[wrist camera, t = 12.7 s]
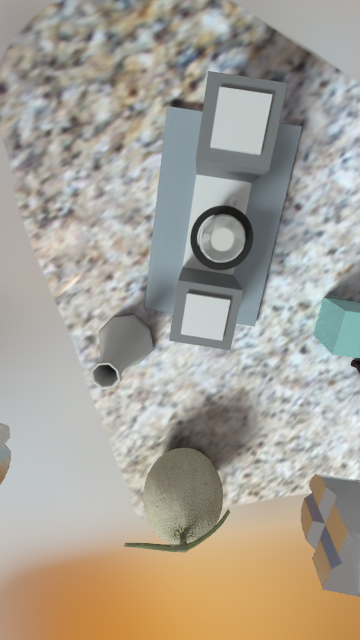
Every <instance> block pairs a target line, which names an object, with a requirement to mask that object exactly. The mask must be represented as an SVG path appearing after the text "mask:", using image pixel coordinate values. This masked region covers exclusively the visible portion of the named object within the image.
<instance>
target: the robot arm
mask: <svg viewBox="0 0 360 640" xmlns="http://www.w3.org/2000/svg"><path fill="white" fill-rule="evenodd" d="M9 438H10V433H9V427H8V426H7V425H5V424H1V423H0V484H1V482H2V481H3V479H4V478H5V475H6V473H7V471H8V469H9V464H10V460H11V454H10V453H11V452H10V450H9V448H8V447H7V446H6V444H5V443H6V441H7V440H8V439H9ZM309 486H310V489H311V491H312V493H311V494H310V495H309V496H307V497H306V498H304V501H303V505H302V508H301V523H302V529H303V532H304V535H305V538H306V540H307V541H308V542H309V544H310V545H311V546H312V547H313V548H314V549H315V552H314V555H313V558H312V559H313V562H314V565H315V568H316V571H317V574H318V577H319V579H320V582H321V585H322V588H323V589H324V590H329V591H333V592H339V593H344V594H349V595H354V596H360V480H352V479H346V478H339V477H333V476H326V475H320V474H315V475H314V476H313V477H312V479H311V481H310V484H309Z"/></svg>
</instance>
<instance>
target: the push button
mask: <svg viewBox="0 0 360 640" xmlns="http://www.w3.org/2000/svg"><path fill="white" fill-rule="evenodd" d="M231 202H232V203H233V206H231V205H230V203H231ZM237 202H238V201H237V200H235V199H233V198H231V199H230V200H229V202H228V204H227V206H225V205H224V206H215V207H212V208H210V209H208V210H206V211H205V212H203V213H202V214H201V215H200V216H199V217H198V218H197V220H196V221H195V223H194V225H193V227H192V230H191V236H190V243H191V248H192V251H193V253H194V255H195V257H196V258H197V259H198V261H199V262H200V263H202V264H203V265H204V266H206V267H208V268H210V269H214V270H227V269H231V268H234V267H236V266H237V265H239V264H240V263H241V262H243V261H244V260H245V258H246V257H247V256H248V254H249V252H250V250H251V248H252V244H253V229H252V226H251V223H250V221H249V220H248V218H247V217H246V215H245V214H244V213H242V212H241V211H240V210H238V209H236V208H235V206H236V204H237ZM212 215H214V216H213V217H211V218H210V219H209V220H207V221H206V222H205V223H204V224H203V226H202V228H201V230H200V232H199V240H198V241H199V245H198V242H197V235H198V231H199V228H200V226H201V225H202V223H203V222H204V221H205V220H206V219H207V218H209V217H210V216H212Z"/></svg>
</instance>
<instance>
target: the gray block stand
mask: <svg viewBox="0 0 360 640" xmlns="http://www.w3.org/2000/svg"><path fill="white" fill-rule="evenodd" d="M287 85H288V83H285V82H278V81H271V80H264V79H258V78H251V77H244V76H238V75H231V74H224V73H217V72H211V71H208V78H207V85H206V92H205V98H204V105H203V111H196V110H190V109H183V108H176V107H170V106H167V115H166V123H165V132H164V141H163V150H162V159H161V167H160V176H159V185H158V194H157V202H156V211H155V220H154V229H153V238H152V246H151V255H150V264H149V273H148V281H147V290H146V299H145V308H144V309H148V310H154V311H160V312H167V313H173V318H172V325H171V332H170V339H169V341H175V342H181V343H188V344H194V345H200V346H207V347H213V348H219V349H225V350H230V349H231V344H232V339H233V335H234V330H235V325H236V324H243V325H249V326H255V323H256V319H257V315H258V311H259V307H260V302H261V298H262V294H263V290H264V285H265V281H266V277H267V273H268V269H269V264H270V260H271V256H272V252H273V247H274V243H275V239H276V235H277V231H278V226H279V222H280V218H281V214H282V210H283V205H284V201H285V197H286V193H287V188H288V184H289V180H290V176H291V172H292V167H293V163H294V159H295V155H296V151H297V146H298V142H299V138H300V134H301V129H302V126H296V125H289V124H283V123H279V122H280V117H281V112H282V108H283V103H284V98H285V94H286V89H287ZM231 198H233V199H235V200H237V201H238V202H237V204H236V206H235V208H236V209H238V210H240V211H241V212H242V213H244V214H245V215H246V217H247V218H248V220H249V221H250V223H251V226H252V229H253V244H252V248H251V250H250V252H249V254H248V256H247V257H246V258H245V260H244V261H243V262H241V263H240V264H239V265H237V266H236V267H234V268H231V269H227V270H214V269H210V268H208V267H206V266H204V265H203V264H202V263H200V262H199V261H198V259H197V258H196V257H195V255H194V253H193V251H192V248H191V243H190V236H191V230H192V227H193V225H194V223H195V221H196V220H197V218H198V217H199V216H200V215H201V214H202V213H203V212H205V211H206V210H208V209H210V208H212V207H215V206H224V205H225V206H227V204H228V202H229V200H230V199H231ZM230 205H231V206H233V203H232V202H231V203H230ZM213 216H214V215H212V216H210V217H209V218H207V219H206V220H205V221H204V222H203V223H202V225H201V226H200V228H199V231H198V235H197V242H198V245H199V241H198V240H199V232H200V230H201V228H202V226H203V224H204V223H205V222H206V221H207V220H209V219H210V218H211V217H213Z"/></svg>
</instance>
